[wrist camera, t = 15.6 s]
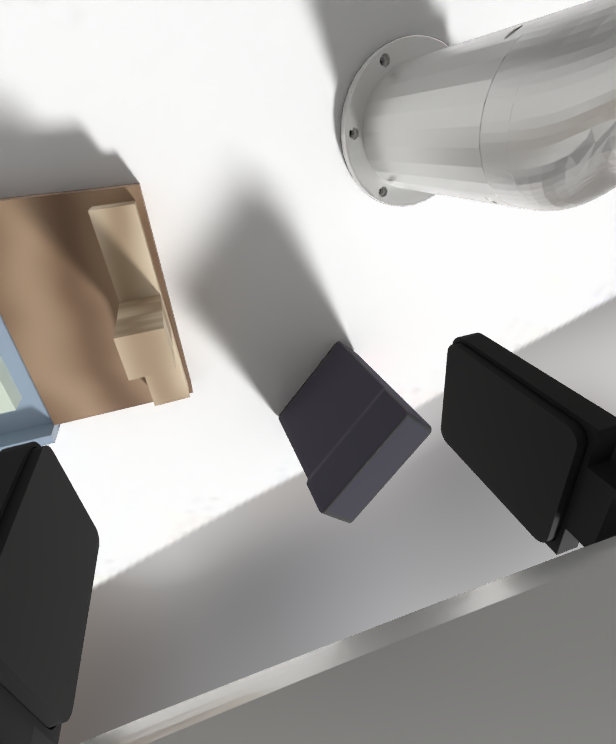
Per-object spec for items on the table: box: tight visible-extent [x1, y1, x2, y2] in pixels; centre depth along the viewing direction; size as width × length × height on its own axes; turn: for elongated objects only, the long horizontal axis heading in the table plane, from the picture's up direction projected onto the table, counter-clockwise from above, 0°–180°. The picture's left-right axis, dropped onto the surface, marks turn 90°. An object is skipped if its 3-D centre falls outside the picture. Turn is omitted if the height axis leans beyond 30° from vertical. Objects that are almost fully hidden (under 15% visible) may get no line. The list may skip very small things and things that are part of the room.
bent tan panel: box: [88, 200, 190, 406], centre depth 30 cm, size 3×16×10 cm, turn 4°
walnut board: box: [0, 183, 193, 425], centre depth 34 cm, size 12×18×2 cm, turn 4°
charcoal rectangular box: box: [279, 342, 431, 523], centre depth 40 cm, size 11×4×15 cm, turn 139°
